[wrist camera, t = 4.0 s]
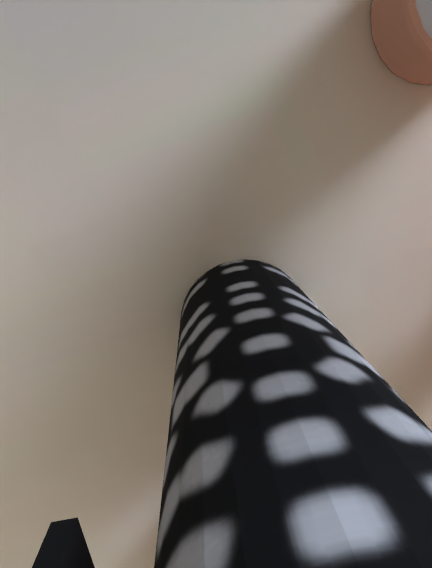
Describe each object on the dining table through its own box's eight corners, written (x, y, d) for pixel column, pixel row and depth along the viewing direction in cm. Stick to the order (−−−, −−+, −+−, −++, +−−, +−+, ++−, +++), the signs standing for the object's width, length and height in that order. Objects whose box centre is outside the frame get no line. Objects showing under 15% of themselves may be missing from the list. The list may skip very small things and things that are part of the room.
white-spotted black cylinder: (196, 387, 26) (197, 964, 7) (167, 274, 24) (50, 677, 5) (312, 362, 26) (635, 876, 7) (295, 247, 24) (708, 541, 5)
